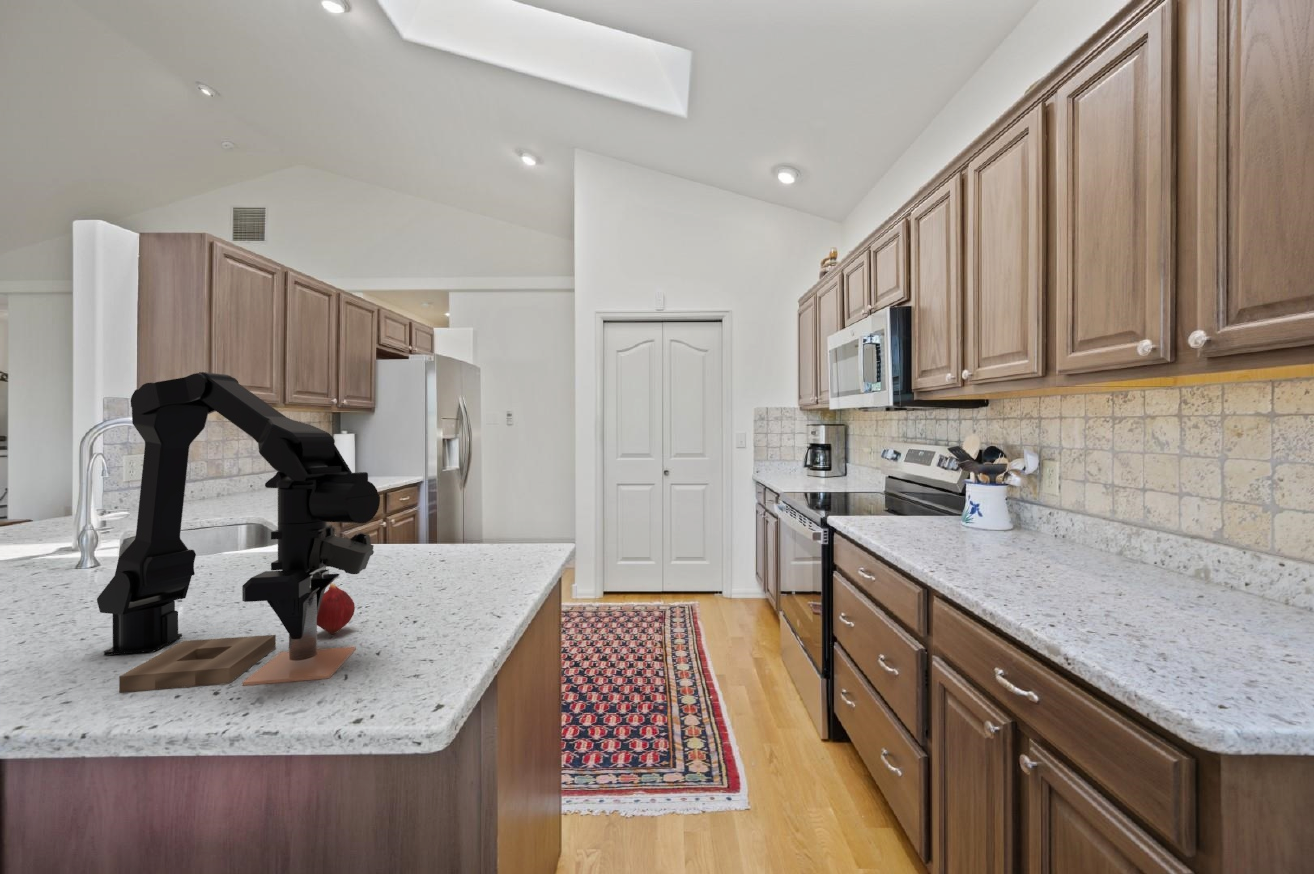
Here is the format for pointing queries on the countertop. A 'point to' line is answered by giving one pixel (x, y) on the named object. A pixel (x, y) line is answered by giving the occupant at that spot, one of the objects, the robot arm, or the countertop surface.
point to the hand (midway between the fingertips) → (303, 634)
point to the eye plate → (198, 663)
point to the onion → (335, 610)
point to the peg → (306, 635)
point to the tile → (301, 667)
